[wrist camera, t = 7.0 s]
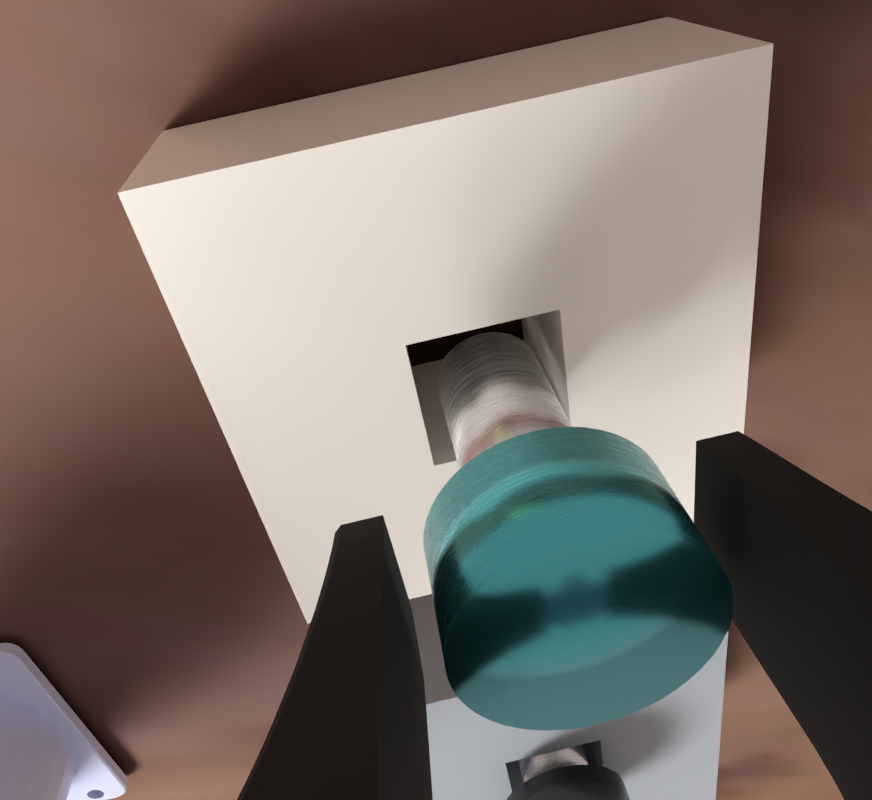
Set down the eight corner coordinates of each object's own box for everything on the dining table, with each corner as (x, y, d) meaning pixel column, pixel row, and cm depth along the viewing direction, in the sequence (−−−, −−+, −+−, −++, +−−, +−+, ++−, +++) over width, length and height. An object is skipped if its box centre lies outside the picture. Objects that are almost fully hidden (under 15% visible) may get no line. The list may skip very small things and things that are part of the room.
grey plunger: (483, 717, 25) (527, 919, 20) (467, 655, 23) (511, 861, 18) (583, 693, 25) (652, 888, 20) (576, 629, 23) (650, 827, 18)
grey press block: (411, 775, 27) (424, 889, 24) (345, 603, 22) (350, 722, 18) (667, 713, 27) (713, 818, 24) (667, 527, 22) (728, 631, 19)
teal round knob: (415, 470, 15) (469, 756, 10) (376, 317, 13) (418, 577, 8) (584, 430, 15) (726, 692, 10) (571, 272, 13) (742, 499, 8)
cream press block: (308, 508, 19) (307, 623, 16) (163, 131, 14) (118, 192, 11) (667, 423, 20) (737, 520, 16) (667, 16, 14) (773, 43, 11)
